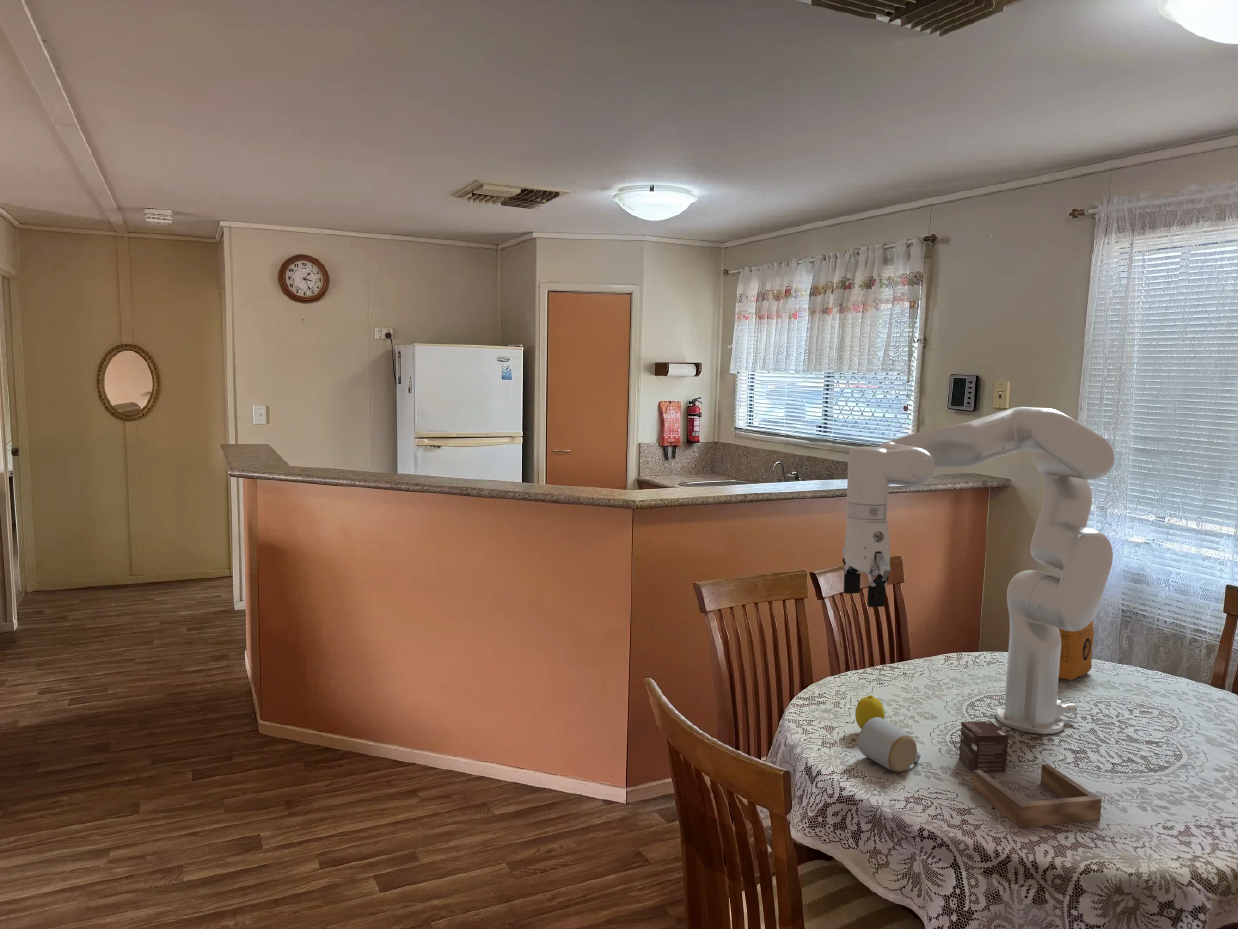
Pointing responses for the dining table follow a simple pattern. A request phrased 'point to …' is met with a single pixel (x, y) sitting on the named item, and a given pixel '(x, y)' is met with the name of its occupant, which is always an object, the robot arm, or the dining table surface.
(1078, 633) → the coffee package
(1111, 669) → the dining table surface
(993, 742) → the box
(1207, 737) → the dining table surface
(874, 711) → the lemon
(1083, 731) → the dining table surface
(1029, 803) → the bay
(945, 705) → the dining table surface
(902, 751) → the ceramic mug
